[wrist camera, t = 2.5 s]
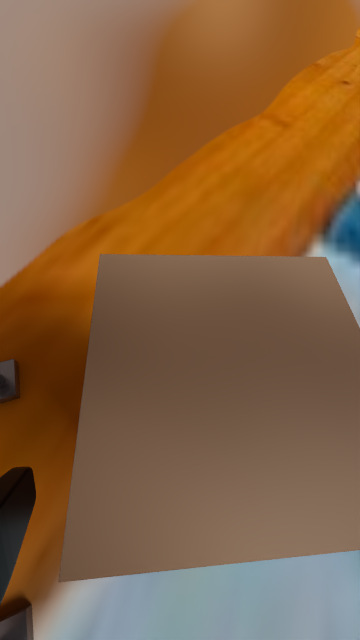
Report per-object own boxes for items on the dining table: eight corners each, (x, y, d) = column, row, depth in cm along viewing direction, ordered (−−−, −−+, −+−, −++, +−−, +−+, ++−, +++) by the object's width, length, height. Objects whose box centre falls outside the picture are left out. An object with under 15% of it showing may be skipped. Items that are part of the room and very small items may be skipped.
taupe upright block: (227, 495, 15) (459, 539, 3) (134, 503, 14) (58, 582, 3) (215, 402, 17) (325, 257, 6) (136, 406, 17) (100, 254, 6)
